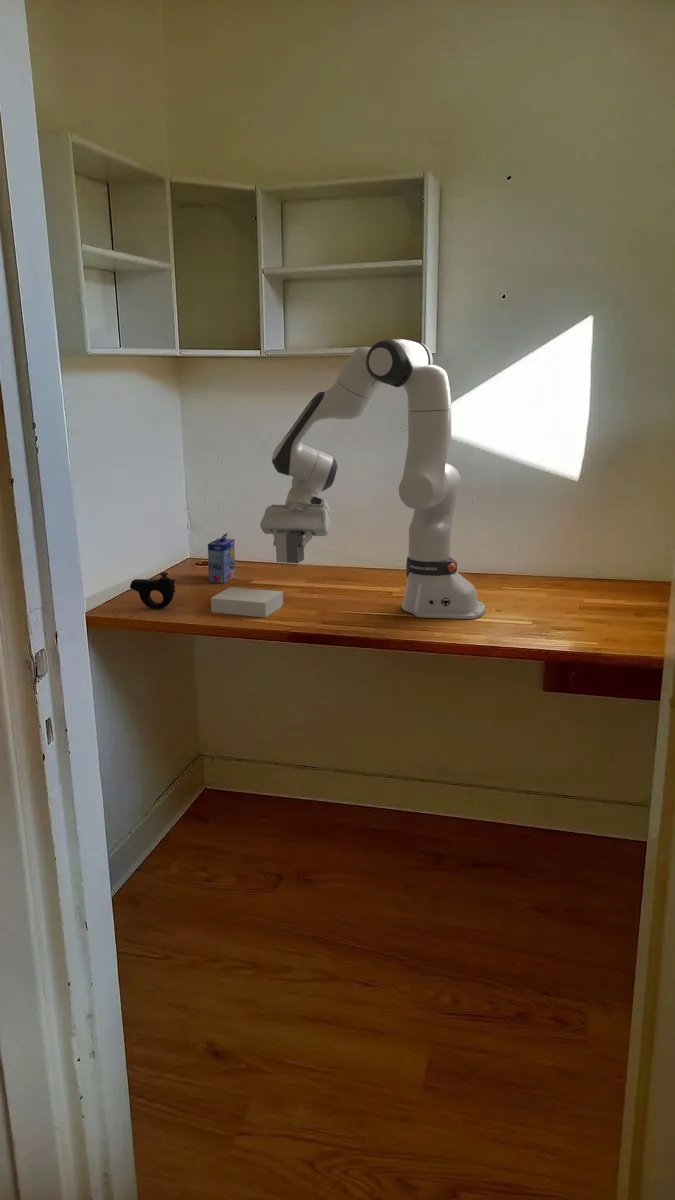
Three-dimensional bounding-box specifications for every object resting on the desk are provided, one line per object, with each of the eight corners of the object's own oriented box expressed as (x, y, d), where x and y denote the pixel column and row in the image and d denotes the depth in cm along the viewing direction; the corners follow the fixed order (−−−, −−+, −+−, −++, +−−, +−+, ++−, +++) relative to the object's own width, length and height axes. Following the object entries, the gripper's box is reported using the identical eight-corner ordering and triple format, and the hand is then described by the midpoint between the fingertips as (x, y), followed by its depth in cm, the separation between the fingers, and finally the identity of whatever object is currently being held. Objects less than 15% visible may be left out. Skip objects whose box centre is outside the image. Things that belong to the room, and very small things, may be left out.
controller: (174, 610, 231) (171, 575, 228) (130, 609, 232) (127, 574, 229) (178, 606, 235) (176, 571, 232) (135, 605, 236) (132, 570, 233)
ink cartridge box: (225, 583, 258) (223, 537, 254) (208, 583, 259) (205, 536, 255) (236, 576, 267) (234, 530, 263) (220, 575, 268) (217, 530, 264)
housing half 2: (304, 559, 240) (303, 531, 238) (297, 563, 236) (296, 535, 234) (293, 558, 241) (292, 531, 239) (287, 562, 237) (285, 534, 235)
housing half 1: (293, 558, 241) (292, 531, 239) (287, 562, 237) (285, 534, 235) (283, 558, 242) (282, 530, 240) (276, 562, 238) (275, 534, 236)
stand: (283, 605, 235) (282, 591, 234) (265, 617, 224) (265, 602, 223) (230, 600, 240) (230, 586, 239) (211, 612, 229) (210, 598, 228)
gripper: (264, 498, 244) (251, 538, 238) (330, 500, 238) (319, 541, 232) (270, 510, 250) (258, 550, 243) (336, 513, 243) (325, 553, 237)
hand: (289, 545), depth 237 cm, fingers open, 6 cm apart
